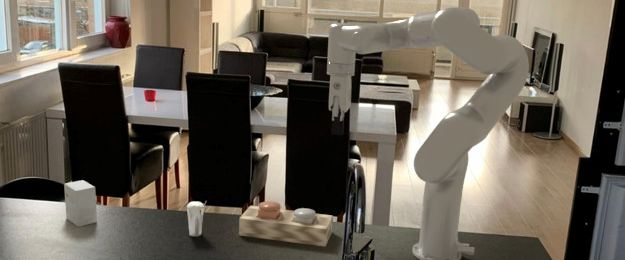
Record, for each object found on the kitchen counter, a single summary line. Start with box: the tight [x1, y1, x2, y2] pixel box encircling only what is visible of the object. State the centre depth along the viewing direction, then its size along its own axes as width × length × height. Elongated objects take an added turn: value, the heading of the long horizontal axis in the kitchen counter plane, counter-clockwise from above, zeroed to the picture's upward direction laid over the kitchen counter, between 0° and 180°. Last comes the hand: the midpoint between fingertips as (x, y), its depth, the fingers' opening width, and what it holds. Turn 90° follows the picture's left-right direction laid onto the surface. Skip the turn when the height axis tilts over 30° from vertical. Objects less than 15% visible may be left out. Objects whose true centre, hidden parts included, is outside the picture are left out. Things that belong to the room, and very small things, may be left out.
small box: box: [63, 179, 98, 227], centre depth 171 cm, size 8×6×10 cm
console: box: [238, 205, 334, 248], centre depth 169 cm, size 24×10×5 cm, turn 78°
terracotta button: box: [258, 200, 282, 220], centre depth 170 cm, size 6×6×6 cm
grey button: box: [293, 207, 317, 224], centre depth 168 cm, size 6×6×6 cm
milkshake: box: [186, 201, 207, 237], centre depth 165 cm, size 4×5×10 cm
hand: (337, 134), depth 172 cm, fingers closed
